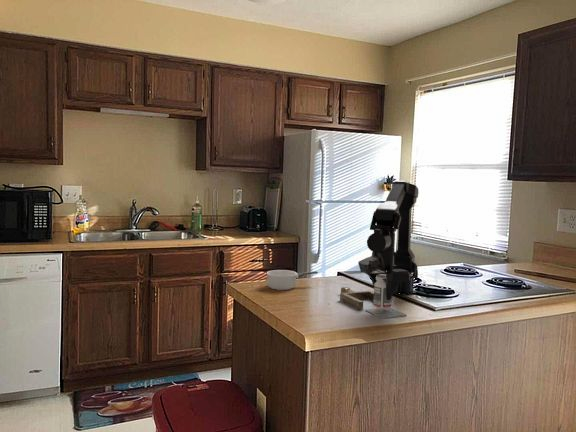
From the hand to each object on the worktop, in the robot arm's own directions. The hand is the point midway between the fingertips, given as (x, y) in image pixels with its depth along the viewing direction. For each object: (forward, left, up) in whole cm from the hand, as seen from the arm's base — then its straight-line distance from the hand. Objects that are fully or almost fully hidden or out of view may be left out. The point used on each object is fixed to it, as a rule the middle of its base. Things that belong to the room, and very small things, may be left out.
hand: (382, 297), depth 150 cm
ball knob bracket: (0, -14, -5) cm, 15 cm away
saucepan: (+13, -39, -5) cm, 42 cm away
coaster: (0, +2, -4) cm, 5 cm away
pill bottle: (0, 0, -3) cm, 3 cm away
